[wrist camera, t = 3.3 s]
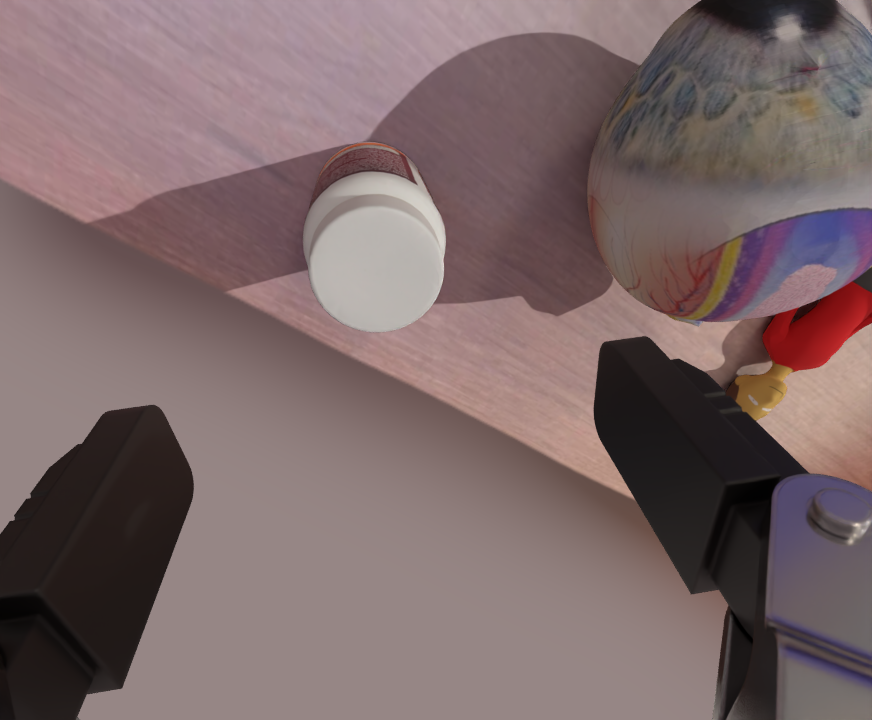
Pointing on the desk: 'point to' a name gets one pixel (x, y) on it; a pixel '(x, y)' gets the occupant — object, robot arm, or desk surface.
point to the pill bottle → (374, 239)
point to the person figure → (804, 343)
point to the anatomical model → (740, 162)
